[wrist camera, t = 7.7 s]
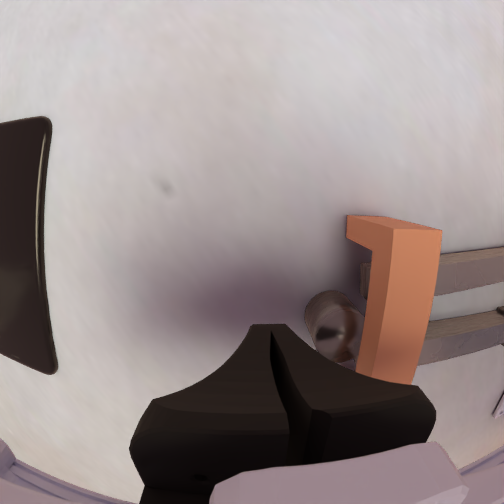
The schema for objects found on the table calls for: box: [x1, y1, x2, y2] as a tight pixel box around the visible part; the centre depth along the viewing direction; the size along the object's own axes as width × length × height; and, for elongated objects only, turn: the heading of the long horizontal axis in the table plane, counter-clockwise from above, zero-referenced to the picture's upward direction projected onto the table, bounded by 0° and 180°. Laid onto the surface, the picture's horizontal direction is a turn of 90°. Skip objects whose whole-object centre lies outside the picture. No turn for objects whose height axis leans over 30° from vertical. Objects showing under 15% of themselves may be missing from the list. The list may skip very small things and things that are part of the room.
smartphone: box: [0, 116, 58, 375], centre depth 13 cm, size 8×1×16 cm
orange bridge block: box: [346, 215, 442, 385], centre depth 11 cm, size 2×10×4 cm, turn 0°
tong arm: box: [360, 247, 504, 300], centre depth 12 cm, size 14×2×2 cm, turn 94°
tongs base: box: [305, 291, 504, 366], centre depth 13 cm, size 17×4×3 cm, turn 90°
